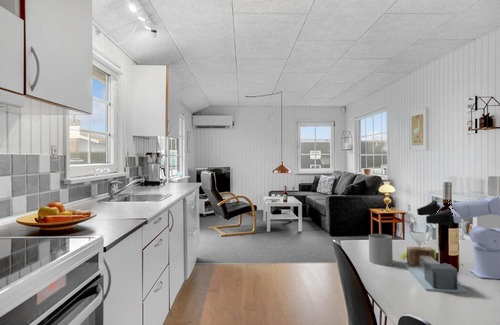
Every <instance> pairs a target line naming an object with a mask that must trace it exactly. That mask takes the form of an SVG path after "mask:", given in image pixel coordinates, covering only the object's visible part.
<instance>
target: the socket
mask: <svg viewBox="0 0 500 325" xmlns="http://www.w3.org/2000/svg"><path fill="white" fill-rule="evenodd" d="M419 255H425V256H431V257H432V258H433V259H435V260H436V257H435V255H436V254H435V249H434V248H433V247H427V246H422V247H421V246H406V263H407V264H408V265H409V266H415V264H418V265H419Z"/></svg>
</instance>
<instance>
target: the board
mask: <svg viewBox="0 0 500 325" xmlns="http://www.w3.org/2000/svg"><path fill="white" fill-rule="evenodd" d="M402 265H403V266H404V267H405V268H406V270H408V272H409V273H410V274H411V276H412V277H413V278H414V279H415V280H416V281H417V283H419V284H420V286H421V287H422V288H423V290H425V291H426V292H427V291H428V292H444V293H445V292H446V293H460V294H461V293H463V294H467V293H468V290H466V289H465V288H464V286H462V285H461V284H460V283H458V290H452V289H434V288H433V287H432V286H431V285H430V284H429V283H428V282H427V281H426V280H425V276H424V272H423V271H422V270H421V269H419V265H418V264H415V266H409V265H408V264H407V262H403V264H402Z"/></svg>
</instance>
